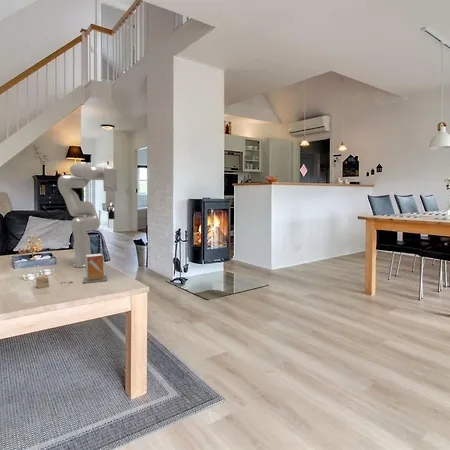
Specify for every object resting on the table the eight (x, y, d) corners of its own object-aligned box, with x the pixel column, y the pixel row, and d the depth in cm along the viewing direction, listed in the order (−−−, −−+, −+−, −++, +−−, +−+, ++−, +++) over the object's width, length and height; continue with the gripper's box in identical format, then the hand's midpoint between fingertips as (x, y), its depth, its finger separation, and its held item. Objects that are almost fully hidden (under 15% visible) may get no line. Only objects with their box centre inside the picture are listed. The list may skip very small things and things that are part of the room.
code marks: (61, 282, 182) (61, 282, 182) (73, 281, 184) (73, 281, 184) (60, 283, 180) (60, 283, 180) (73, 282, 182) (73, 282, 182)
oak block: (36, 286, 176) (36, 276, 176) (47, 284, 179) (46, 275, 178) (37, 288, 172) (37, 278, 171) (49, 286, 175) (48, 277, 174)
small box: (88, 280, 182) (86, 256, 181) (86, 278, 188) (85, 254, 187) (104, 278, 187) (102, 255, 185) (101, 276, 192) (100, 253, 191)
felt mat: (84, 278, 191) (83, 276, 191) (106, 275, 195) (106, 274, 195) (82, 283, 180) (82, 282, 180) (107, 281, 184) (107, 280, 184)
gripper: (104, 188, 206) (105, 217, 208) (103, 189, 189) (104, 220, 191) (117, 188, 208) (118, 216, 210) (117, 189, 192) (118, 219, 194)
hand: (111, 218), depth 201 cm, fingers open, 9 cm apart
